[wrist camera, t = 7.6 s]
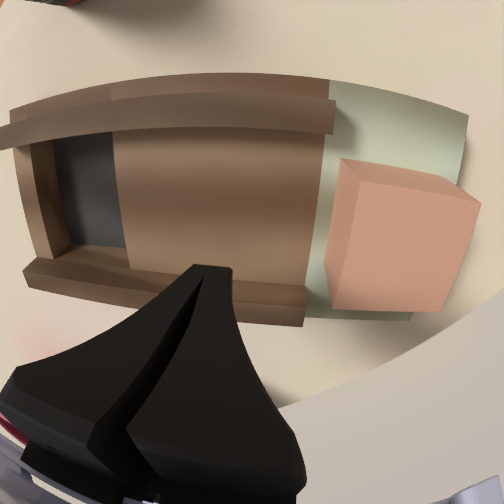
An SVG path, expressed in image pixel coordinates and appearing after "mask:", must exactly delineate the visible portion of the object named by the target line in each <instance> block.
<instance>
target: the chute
mask: <svg viewBox="0 0 504 504" xmlns="http://www.w3.org/2000/svg"><path fill="white" fill-rule="evenodd" d="M468 117H469V115H467V114H464V113H461V112H459V111H456V110H453V109H450V108H447V107H444V106H441V105H438V104H435V103H432V102H428V101H425V100H422V99H418V98H415V97H411V96H407V95H404V94H400V93H396V92H391V91H387V90H383V89H378V88H374V87H369V86H364V85H358V84H353V83H347V82H341V81H335V80H328V79H320V78H312V77H303V76H292V75H280V74H262V73H199V74H181V75H169V76H158V77H149V78H141V79H134V80H127V81H121V82H115V83H109V84H104V85H99V86H94V87H89V88H84V89H80V90H76V91H72V92H68V93H64V94H60V95H56V96H53V97H49V98H46V99H42V100H39V101H36V102H33V103H29V104H26V105H23V106H21V107H18V108H15V109H12V110H10V124H8V125H5V126H2V127H0V150H4V149H8V148H13V154H14V161H15V167H16V174H17V179H18V185H19V190H20V195H21V199H22V204H23V208H24V213H25V217H26V221H27V224H28V228H29V232H30V235H31V239H32V242H33V246H34V249H35V252H36V255H37V257H36V258H35V259H34V260H33V261H32V262H31V263H30V264H29V265H28V266H27V267H26V268H25V269H24V270H23V274H24V277H25V279H26V282H27V284H28V287H30V288H34V289H38V290H43V291H47V292H51V293H56V294H61V295H65V296H70V297H75V298H80V299H85V300H90V301H95V302H100V303H106V304H111V305H117V306H123V307H128V308H135V309H140V308H142V307H143V306H144V305H146V304H147V303H148V302H150V301H151V300H152V299H153V298H155V297H156V296H157V295H158V294H159V293H161V292H162V291H163V290H164V289H165V288H167V287H168V286H169V285H170V284H171V283H172V282H173V281H175V280H176V279H177V278H178V277H179V276H180V275H181V274H182V273H184V272H185V271H186V270H187V269H188V268H189V267H191V266H192V265H193V264H202V265H212V266H223V267H230V268H231V269H232V270H233V285H232V303H233V308H234V313H235V317H236V321H237V322H243V323H254V324H266V325H279V326H293V327H303V322H304V317H315V318H334V319H360V320H410V317H411V315H412V313H413V312H399V311H365V310H341V309H333V308H332V303H331V297H330V292H329V287H328V282H327V277H326V272H325V267H324V257H325V252H326V247H327V241H328V235H329V229H330V224H331V218H332V211H333V205H334V198H335V192H336V185H337V178H338V170H339V162H340V158H345V159H352V160H359V161H366V162H372V163H378V164H384V165H390V166H395V167H401V168H406V169H411V170H416V171H421V172H426V173H430V174H435V175H439V176H443V177H444V178H446V179H447V180H449V181H450V182H452V183H453V184H455V185H456V184H457V179H458V175H459V170H460V165H461V160H462V155H463V150H464V144H465V138H466V131H467V124H468Z"/></svg>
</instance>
